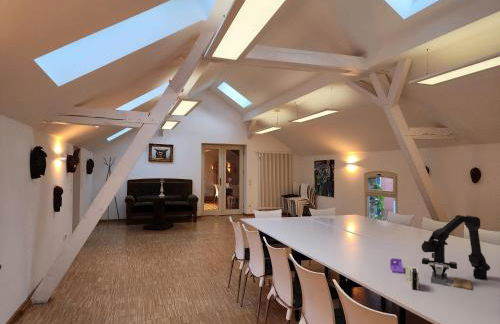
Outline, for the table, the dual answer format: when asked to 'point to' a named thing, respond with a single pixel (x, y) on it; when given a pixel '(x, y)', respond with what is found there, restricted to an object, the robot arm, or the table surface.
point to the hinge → (412, 276)
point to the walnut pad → (462, 283)
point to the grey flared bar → (439, 272)
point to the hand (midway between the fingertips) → (439, 277)
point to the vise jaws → (439, 279)
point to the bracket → (396, 266)
